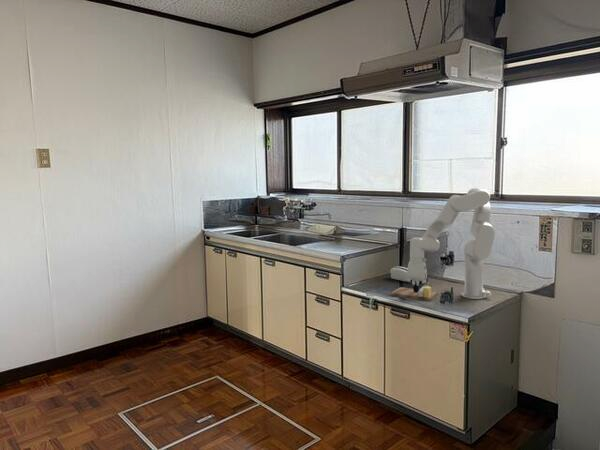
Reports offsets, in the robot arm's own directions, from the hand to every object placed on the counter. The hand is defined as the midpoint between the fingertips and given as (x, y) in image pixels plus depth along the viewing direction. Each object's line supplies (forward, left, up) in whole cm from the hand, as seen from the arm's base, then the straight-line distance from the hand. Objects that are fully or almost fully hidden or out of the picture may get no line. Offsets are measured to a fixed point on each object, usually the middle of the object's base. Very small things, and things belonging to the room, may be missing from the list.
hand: (416, 291), depth 255 cm
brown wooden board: (+3, -5, -4) cm, 7 cm away
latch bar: (-3, -4, -2) cm, 5 cm away
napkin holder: (+21, -32, -4) cm, 39 cm away
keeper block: (-6, -1, -2) cm, 6 cm away
